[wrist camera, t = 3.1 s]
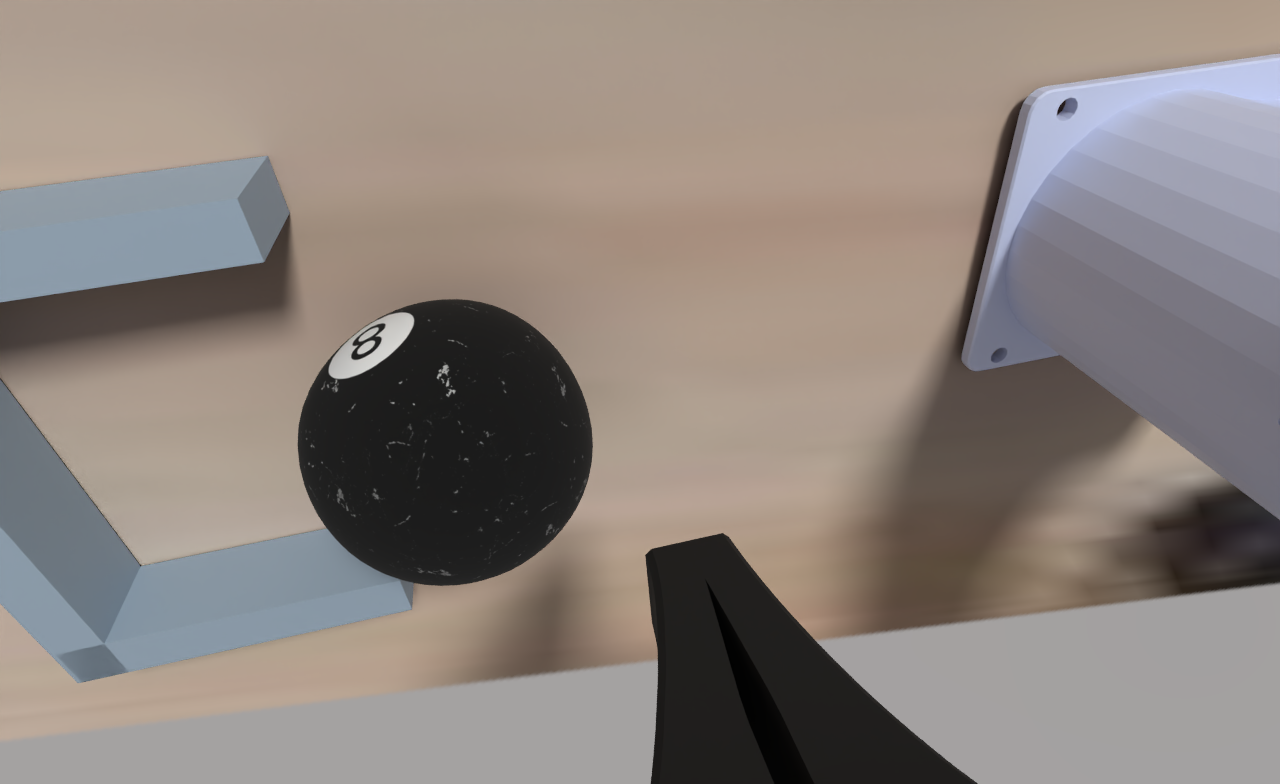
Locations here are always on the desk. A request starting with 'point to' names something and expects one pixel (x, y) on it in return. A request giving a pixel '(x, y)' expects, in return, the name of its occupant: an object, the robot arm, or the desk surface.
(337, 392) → the billiard ball
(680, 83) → the desk surface
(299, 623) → the corral
